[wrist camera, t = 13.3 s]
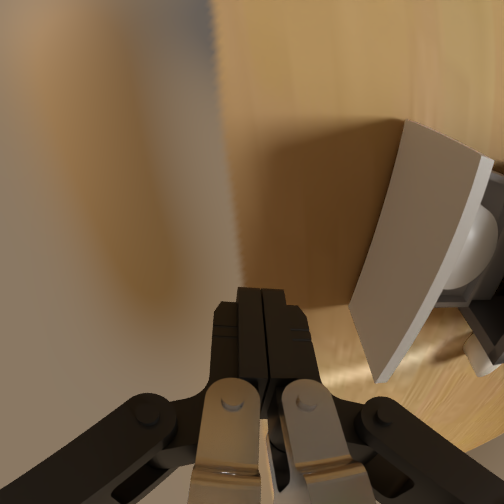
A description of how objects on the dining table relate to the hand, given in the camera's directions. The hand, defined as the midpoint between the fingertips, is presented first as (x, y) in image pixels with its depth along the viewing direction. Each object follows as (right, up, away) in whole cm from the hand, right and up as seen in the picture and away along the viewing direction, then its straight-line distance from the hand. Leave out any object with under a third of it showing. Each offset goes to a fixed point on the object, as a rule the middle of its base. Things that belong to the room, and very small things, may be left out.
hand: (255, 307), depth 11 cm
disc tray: (+14, +3, +8) cm, 16 cm away
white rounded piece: (+24, -7, +15) cm, 29 cm away
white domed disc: (+13, +3, +7) cm, 15 cm away
